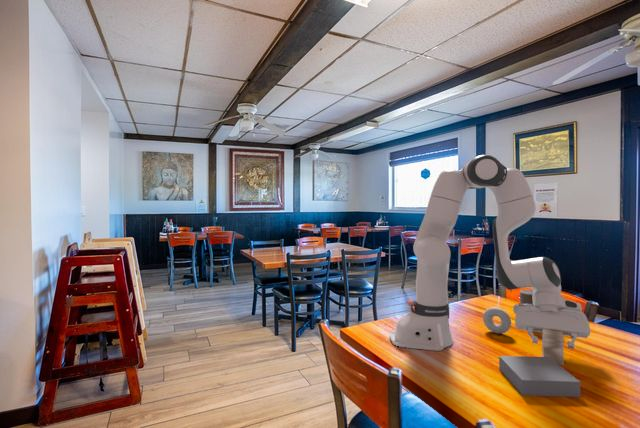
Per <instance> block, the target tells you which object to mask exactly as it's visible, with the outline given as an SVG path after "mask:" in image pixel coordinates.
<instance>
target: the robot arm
mask: <svg viewBox="0 0 640 428" xmlns="http://www.w3.org/2000/svg"><path fill="white" fill-rule="evenodd" d="M483 188H487V189H489V190H490V191H491V192H492V193H493V196H494V198H495V200H496V204H497V208H498V209H497V210H498V211H497V217H495V219H493V221H492V237H493V246H494V254H495V255H494V256H495V266H496V267H495V269H496V272H495V273H496V279H497V282H498V284H499V285H501V287H503V288H505V289H507V290H508V291H513V290H518V289H523V288H531V290H533V295H532V299H533V304H522V303H520V302H519V303H516V304H514V305H513V307H512V308H513V309H512V310H513V313H514V314H515V319H514V327H515V328H517V330H520V331H521V330H522V331H527V334H528V336H529V337H530V338H531V343H532V344H535V345H536V344H538V343H539V340H538V339H539V338H538V336H536V335H535V334H534V333H533V332H536V333H537V332H538V333H542V329H549V330H557V331H561V332H562V334H563V336H567V337H570V339H571V340H568V341H567V349H571V350H574V349H575V342H576V341H577V339H578V338H582V339H583V338H584V339H587V338H589V336H590V335H591V327H590V323H589V320H588V318H587V315H586V314H585V313H584V312H583V311H582V304H581V303H579V302H576V301H574V300H573V301H572V300H570V299H566V298H564V297H563V295H562V293H561V292H562V285H561V283H562V276H561V271H560V268H559V266H558V264H557V263H556V262H555V261H554V260H552V259H550V258H549V257H546V256H538V257H532V258H525V259H518V260H517V259H516V260H512V259H510V253H509V252H510V251H509V243H508V237H509V235H510V233H513V231H515V230H516V229H518V228H520V227H521V226H523V225H525V224H526V223H528V222H529V221H530V220H531V219H532V218H533V217H534V214H535V213H536V203H535V199H534V196H533V192H532V189H531V187H530V185H529V183H528V181H527V179H526V177H525V175H524V173H523V172H522V171H521V170H520V169H518V168H514V167H511V168H510V167H509V168H507V167H506V166H505V165H504V164H503V163H501V161H499V159H497V158H496V157H494V156H493V155H489V154H480V155H477V156H475V157H474V158H470V160H468V161H467V162H466V163H465V164H464V165H463V166H461V167H460V169H459V170H457V169H445V170H442V171H441V172H440V174H439V175H438V177H437V179H436V181H435V183H434V186H433V188H432V191H431V193H430V197H429V200H428V203H427V207H426V209H425V213H424V216H423V219H422V221H421V224H420V226H419V229H418V231H417V235H416V236H415V240H414V242H413V246H412V247H413V248H412V249H413V253H414V255H415V257H416V260H417V261H416V263H417V264H416V276H415V299H416V300H415V301H413V300H412V299H409V300H408V301H407V304H408V306H409V307H410V311H409V312H408V313H406V314H404V315H403V316H402V317H400V318H399V319H398V320H397V323H396V327H395V329H394V330H392V331H391V332H390V335H389V339H391V340H390V342H391V341H392V342H391V344H393V345H394V346H395V345H396V346H395V347H397V346H399V347H398V348H405V347H406V348H407V349H415V350H417V349H418V350H427V351H436V352H440V351H443V350H444V348H445V349H446V348H447V347H450V346H452V345H453V344H454V340H453V336H452V331H451V328H450V321H449V319H450V304H449V302H448V281H449V280H448V279H449V271H450V260H451V254H452V253H451V248H450V247H449V245H448V243H447V241H448V239H449V236H450V234H451V232H452V231H453V228H454V227H455V226H456V223H457V221H458V217H459V213H460V211H461V208H462V203H463V200H464V196H465V194H466V192H467V191H468V190H469V189H470V190H471V189H472V190H473V189H475V190H476V189H483Z"/></svg>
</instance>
